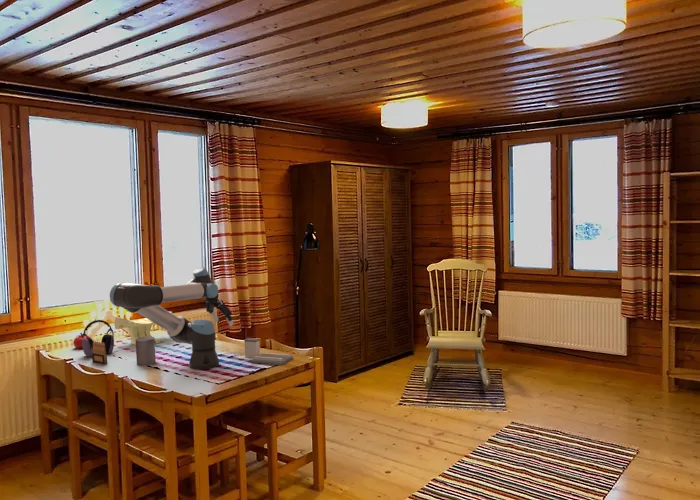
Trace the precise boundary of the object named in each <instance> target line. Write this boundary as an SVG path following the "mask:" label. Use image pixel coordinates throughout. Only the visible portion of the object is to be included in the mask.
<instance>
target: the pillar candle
mask: <svg viewBox="0 0 700 500" xmlns="http://www.w3.org/2000/svg"><path fill="white" fill-rule="evenodd" d="M154 338H156V337H154V336H153V335H151V336H145V337H139V338H136V345H135V350H136V351H135V356H136V358H135V359H136V365H137V366H150V365H153V364H156V362H157V361H156V345H155V344H156V343H155V340H154Z"/></svg>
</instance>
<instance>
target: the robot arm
mask: <svg viewBox="0 0 700 500" xmlns="http://www.w3.org/2000/svg"><path fill="white" fill-rule="evenodd" d="M192 275H193V277H192V278H191V279H190V280H188V281H187V282H186V283H185V284H181V285H169V286H168V285H167V286H160V285H157V284H156V285H147V284H141V283H129V282H118V283H116V284H114V285H113V286H112V288H111V289H110V292H109V300H110V303H111V304H112V305H113V306H114V307H115V306H116V307H117V308H122V309H124V310H126V311H127V312H129V313H131V314H135V313H137V314H139V315H141V316H143V317H144V319H145V318H147V319H149V320H150V321H152V322H154V323H155V324H154V325H157V326H158V327H160V328H161V329H164V330H166V334H167V335H168V336H169V338H170V339H171V340H172V341H173V342H176V343H177V344H178V343H179V344H188V345H191V356H190V359H189V362H188V363H189V364H188V365H189V368H190V369H193V370H208V369H213V368H216V367H218V366H220V359H219V357H218V354H217V353H218V352H216V336H215V334H216V332H215V324H216V323H218V321H220V319H219V317H218V315H217V313H216V311H215V309H217V310H219V311H220V312H221V313H222V314H223V315H224V316H225V319H226V322H227V323H228V325H229V327H232V326H233V325H234V321H233V318H232V315H233V313H232V311H231V310H230V309H229V308H228V306H227V305H226V304H225V302H224V301H223V300H222V299H221V300H219V286H218V285H217V284H215V283H214V282H213V280H212V278H211V276H210V274H209V271H208V270H207V268H206V267H204V266H203V267H202V266H201V267H198V268H196V269H194V270H193V271H192ZM203 298H204V302H205V308H206V312H208V313H209V314H210V316H211V317H212V320H213V321H211V320H208V319H195V320H192V321H190V320H188V319H186V318H185V317H183V316H181V315H178V316H176V315H175V314H173V312H172V313H170V312H171V311H170V312H169V310H167V309H165V307H162V306H161V304H162V303H172V302H179V301H187V300H193V299H203ZM213 322H214V323H213Z"/></svg>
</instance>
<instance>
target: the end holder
mask: <svg viewBox="0 0 700 500" xmlns="http://www.w3.org/2000/svg"><path fill="white" fill-rule="evenodd" d="M293 358H294V357H293V356H292V355H290V354H289V353H287V354H286V353H274V352H273V353H271V352H260V356H255V357H254V358H252V359H251V360H250V364H258V363H261V365H271V364H272V365H274V366H282V365H284V364H285V363H287V362H289V361H291V360H292V359H293Z"/></svg>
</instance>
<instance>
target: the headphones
mask: <svg viewBox="0 0 700 500" xmlns="http://www.w3.org/2000/svg"><path fill="white" fill-rule="evenodd" d="M96 323H103V324H105V325H106V326H107V327H108V329H107V332H106V334H104V335H103V336H102V338H101V341H100V343H101V342H102V343H103V342H104V344H105V349H106V354H110V353H113V352H114V347H115V337H114V330H113V328H112V325H110V323H108V322H107V321H106V320H102V319H97V320H95V319H94V320H93V321H91V322H89V323H87V325H86V326H85V328H84V330H83V332H82V339H83V336H84V335H85V336H86V337H87V339H86V338H85V339H83V340H82V347H83V349H82V350H83V354H84V355H85V356H87V357H89V358H90V357H92V353H93V341H94V340H93V338H88V336H89V335H88V334H86V331H88V329H89V328H90V327H91V326H93V325H94V324H96ZM109 332H111V334H110V333H109Z"/></svg>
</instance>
